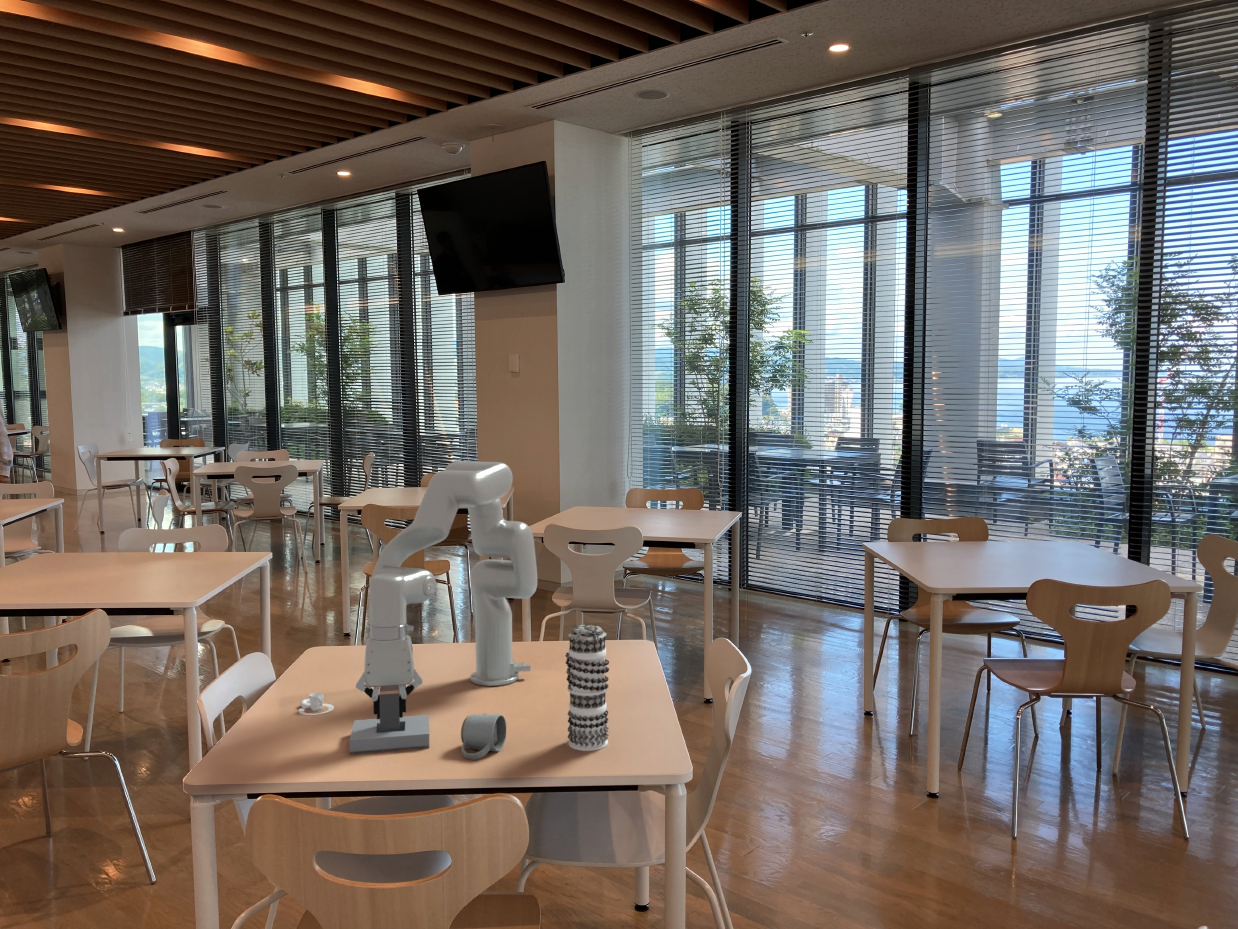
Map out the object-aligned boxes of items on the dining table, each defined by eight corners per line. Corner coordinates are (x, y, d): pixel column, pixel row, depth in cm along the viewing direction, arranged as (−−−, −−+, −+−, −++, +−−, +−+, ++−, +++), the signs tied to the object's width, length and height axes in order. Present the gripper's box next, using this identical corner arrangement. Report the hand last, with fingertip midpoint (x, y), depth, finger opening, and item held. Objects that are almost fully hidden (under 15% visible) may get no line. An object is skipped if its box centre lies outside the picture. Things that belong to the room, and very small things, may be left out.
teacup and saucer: (297, 707, 216) (297, 690, 216) (332, 703, 219) (332, 686, 219) (299, 719, 208) (298, 701, 208) (335, 714, 211) (334, 697, 211)
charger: (400, 721, 195) (399, 684, 194) (399, 727, 191) (398, 690, 190) (381, 722, 194) (380, 686, 193) (380, 729, 190) (379, 691, 190)
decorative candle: (559, 740, 192) (557, 625, 191) (597, 732, 197) (596, 620, 195) (578, 754, 184) (577, 634, 183) (617, 746, 189) (616, 629, 187)
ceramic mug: (473, 740, 193) (472, 707, 192) (507, 743, 191) (506, 709, 190) (452, 759, 183) (451, 724, 182) (488, 763, 181) (488, 727, 180)
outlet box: (428, 728, 200) (428, 714, 200) (429, 747, 189) (428, 733, 188) (354, 733, 197) (354, 720, 197) (349, 754, 185) (349, 740, 185)
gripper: (428, 626, 197) (429, 708, 198) (349, 630, 193) (350, 713, 194) (428, 634, 189) (430, 719, 190) (346, 638, 186) (347, 725, 187)
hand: (390, 715), depth 192 cm, fingers closed on charger, 4 cm apart
